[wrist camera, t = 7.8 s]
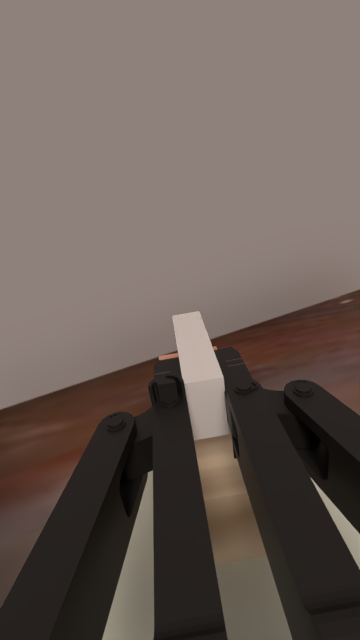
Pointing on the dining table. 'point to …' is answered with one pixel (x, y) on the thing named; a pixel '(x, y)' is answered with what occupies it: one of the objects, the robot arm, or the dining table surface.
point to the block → (226, 500)
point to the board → (233, 579)
